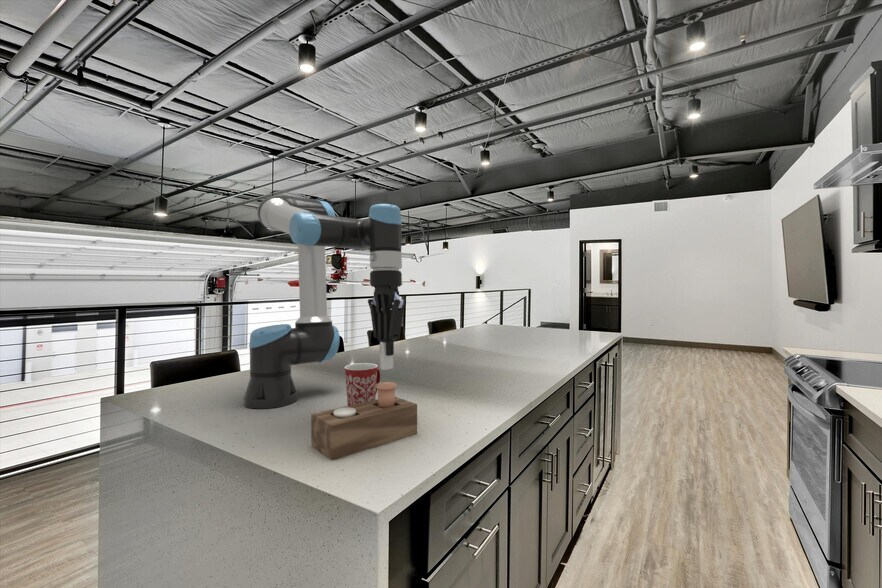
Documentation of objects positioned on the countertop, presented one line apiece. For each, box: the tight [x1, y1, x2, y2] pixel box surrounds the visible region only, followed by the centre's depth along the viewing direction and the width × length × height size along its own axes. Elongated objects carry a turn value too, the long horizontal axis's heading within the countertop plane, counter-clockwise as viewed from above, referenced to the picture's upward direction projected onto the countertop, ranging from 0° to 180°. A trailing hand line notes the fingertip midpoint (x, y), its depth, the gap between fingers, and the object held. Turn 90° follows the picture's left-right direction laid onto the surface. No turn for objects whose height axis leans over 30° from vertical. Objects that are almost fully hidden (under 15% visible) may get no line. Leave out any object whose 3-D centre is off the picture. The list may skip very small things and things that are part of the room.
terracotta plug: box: [376, 381, 397, 409], centre depth 94 cm, size 5×5×7 cm
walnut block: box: [310, 396, 418, 461], centre depth 90 cm, size 10×22×7 cm, turn 132°
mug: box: [344, 362, 381, 406], centre depth 109 cm, size 13×9×14 cm
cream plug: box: [334, 406, 356, 419], centre depth 86 cm, size 5×5×7 cm
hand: (386, 368), depth 93 cm, fingers closed
